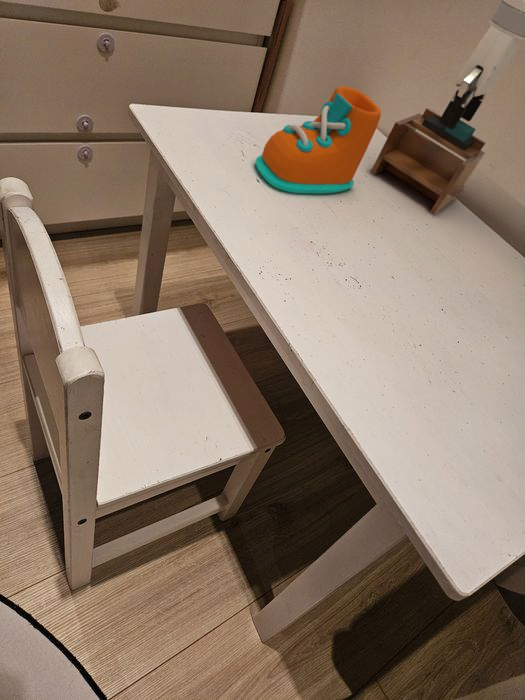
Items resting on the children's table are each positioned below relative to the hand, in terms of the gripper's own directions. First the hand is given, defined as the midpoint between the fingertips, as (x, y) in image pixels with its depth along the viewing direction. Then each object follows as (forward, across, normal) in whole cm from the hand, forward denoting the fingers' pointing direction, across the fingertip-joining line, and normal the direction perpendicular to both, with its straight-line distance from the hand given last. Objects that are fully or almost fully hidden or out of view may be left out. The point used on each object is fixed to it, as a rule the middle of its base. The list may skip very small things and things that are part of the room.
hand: (454, 121), depth 91 cm
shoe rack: (+14, +3, 0) cm, 14 cm away
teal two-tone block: (+3, 0, 0) cm, 3 cm away
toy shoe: (+14, +26, -14) cm, 33 cm away
